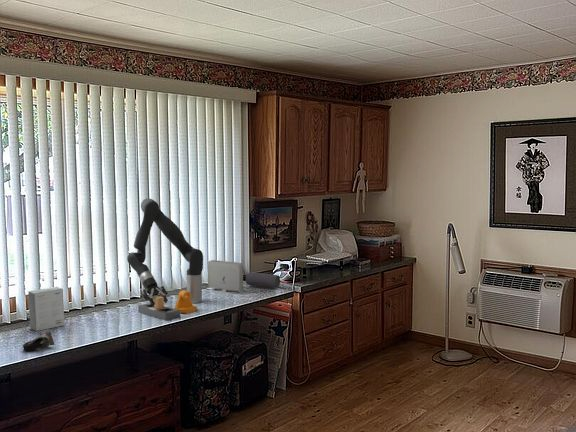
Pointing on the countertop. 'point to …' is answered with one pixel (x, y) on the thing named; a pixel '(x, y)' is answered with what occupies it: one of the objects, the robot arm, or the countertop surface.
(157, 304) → the peg
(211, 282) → the network device
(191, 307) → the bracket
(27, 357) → the countertop surface
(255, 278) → the bluetooth speaker
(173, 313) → the rail
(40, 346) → the caster wheel
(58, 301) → the hard drive box
